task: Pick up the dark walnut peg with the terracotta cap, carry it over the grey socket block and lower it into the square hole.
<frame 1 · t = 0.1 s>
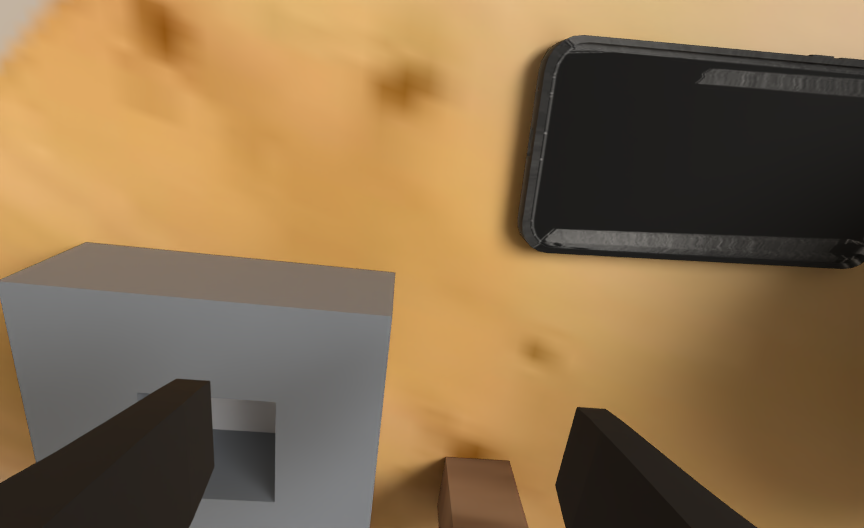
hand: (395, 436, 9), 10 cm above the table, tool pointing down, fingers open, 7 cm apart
peg: (472, 483, 22), on the table
socket block: (247, 384, 20), on the table
phone: (705, 158, 18), on the table
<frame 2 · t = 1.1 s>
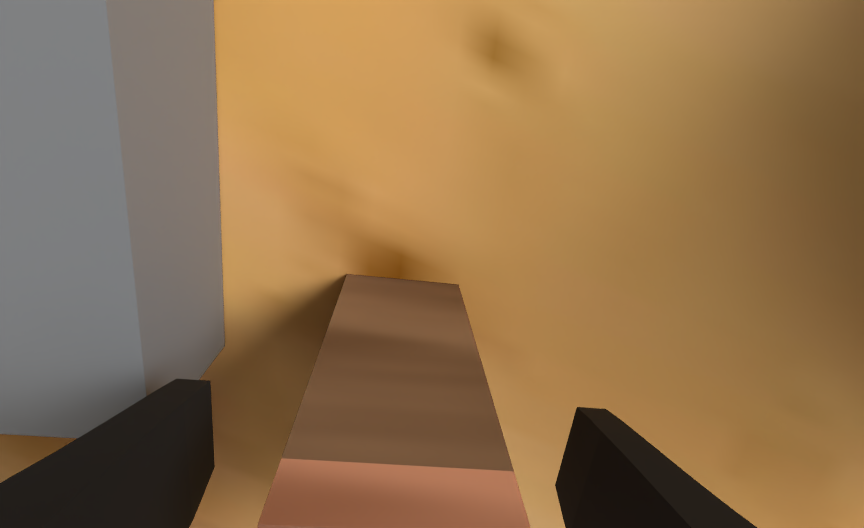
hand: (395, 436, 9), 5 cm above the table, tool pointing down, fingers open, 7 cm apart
peg: (397, 329, 13), on the table
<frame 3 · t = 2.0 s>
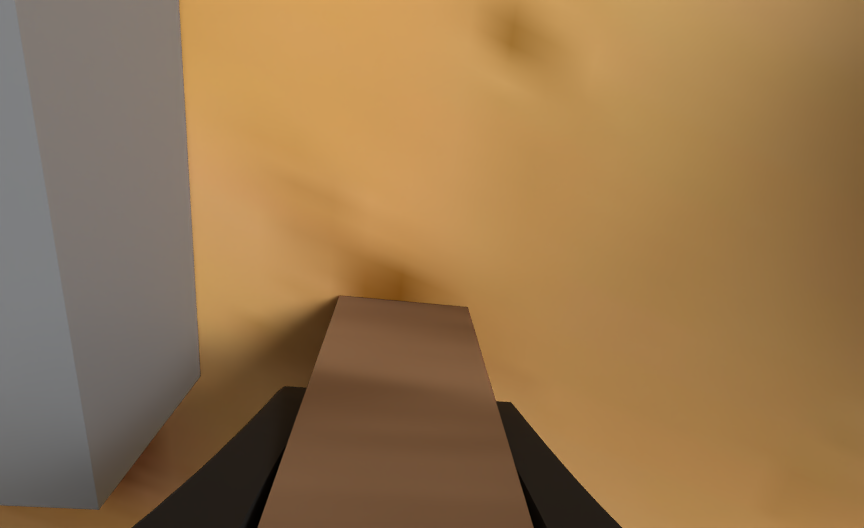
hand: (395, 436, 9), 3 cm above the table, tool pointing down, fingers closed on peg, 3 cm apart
peg: (398, 357, 12), on the table, touching gripper
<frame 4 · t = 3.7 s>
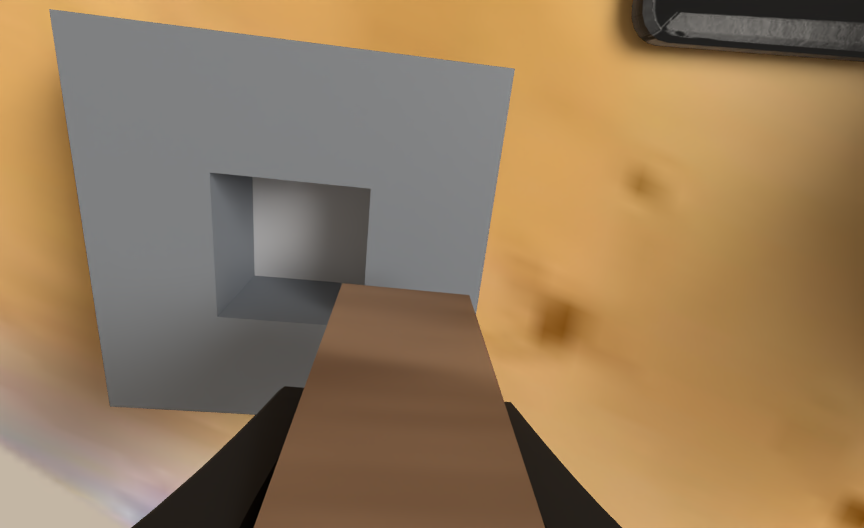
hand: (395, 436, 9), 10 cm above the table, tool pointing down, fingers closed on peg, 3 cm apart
peg: (400, 344, 12), point 7 cm above the table, touching gripper
socket block: (316, 223, 17), on the table
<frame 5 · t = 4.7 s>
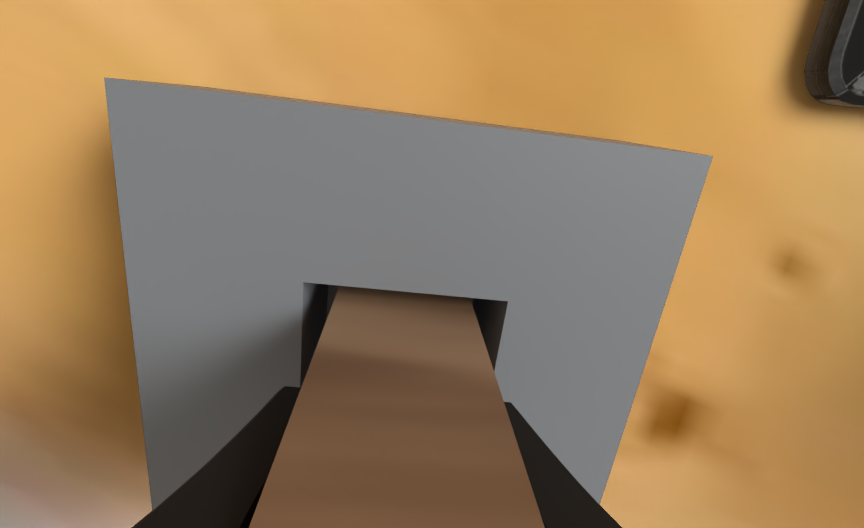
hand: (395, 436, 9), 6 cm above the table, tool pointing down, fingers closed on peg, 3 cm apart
peg: (399, 342, 12), point 3 cm above the table, touching gripper
socket block: (400, 308, 14), on the table
when the fingers open (5 cm above the table, at t = 5.3 s): peg drops 1 cm, resting on socket block.
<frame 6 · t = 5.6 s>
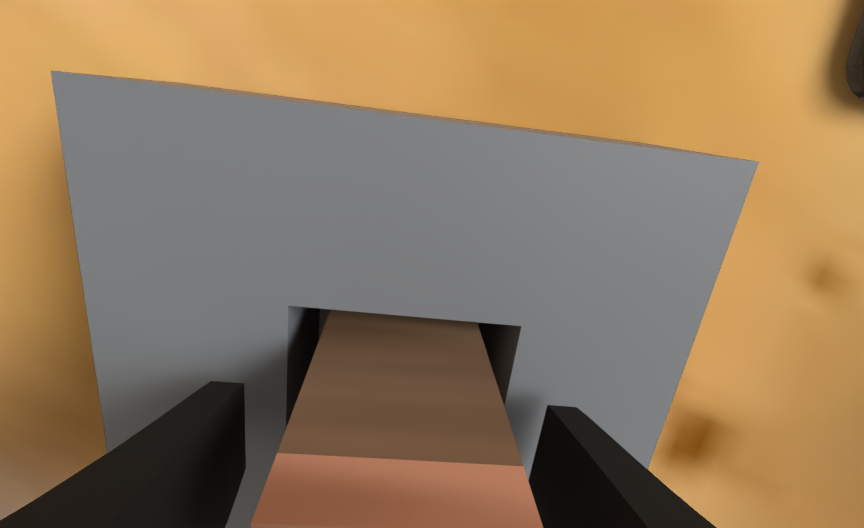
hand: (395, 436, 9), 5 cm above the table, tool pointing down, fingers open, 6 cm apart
peg: (399, 321, 13), resting on socket block
socket block: (399, 325, 13), on the table
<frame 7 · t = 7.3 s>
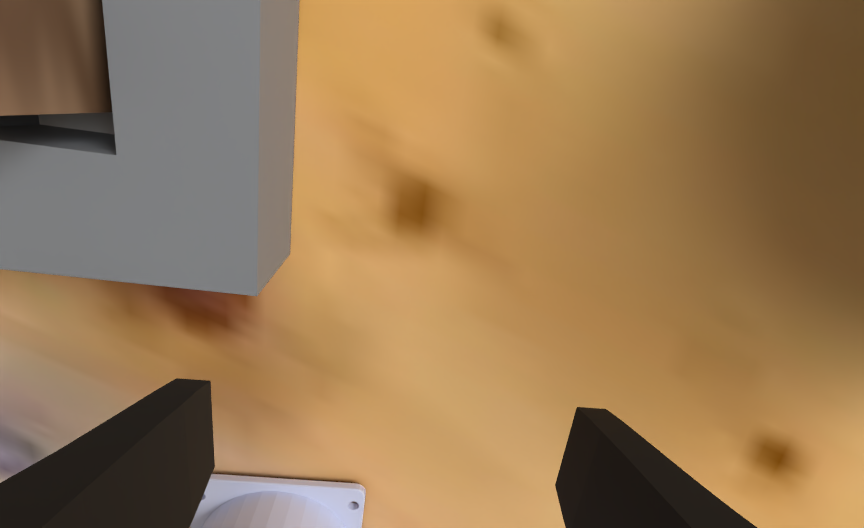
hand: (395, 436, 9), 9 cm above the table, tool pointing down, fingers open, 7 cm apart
peg: (104, 51, 14), resting on socket block
socket block: (110, 61, 15), on the table
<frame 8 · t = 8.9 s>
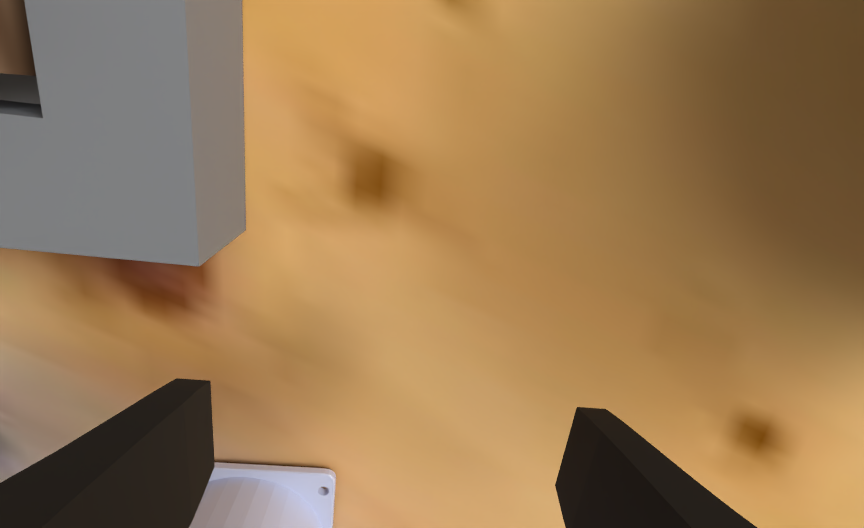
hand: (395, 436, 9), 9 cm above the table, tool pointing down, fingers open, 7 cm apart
peg: (41, 19, 14), resting on socket block
socket block: (50, 30, 14), on the table
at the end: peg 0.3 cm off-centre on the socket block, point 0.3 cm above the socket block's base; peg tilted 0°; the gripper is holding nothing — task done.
